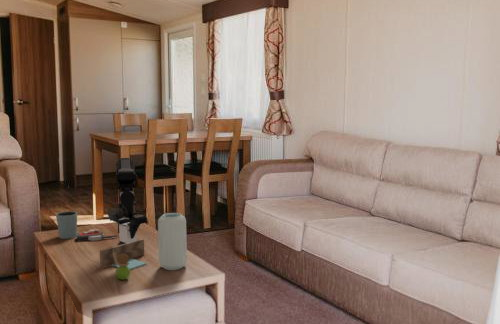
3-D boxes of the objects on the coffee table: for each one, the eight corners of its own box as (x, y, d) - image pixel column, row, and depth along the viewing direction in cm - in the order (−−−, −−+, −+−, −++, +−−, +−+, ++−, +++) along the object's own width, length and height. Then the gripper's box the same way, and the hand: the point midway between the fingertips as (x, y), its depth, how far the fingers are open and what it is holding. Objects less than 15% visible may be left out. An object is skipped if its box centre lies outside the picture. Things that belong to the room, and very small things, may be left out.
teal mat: (131, 259, 220) (131, 258, 220) (146, 264, 213) (146, 263, 213) (112, 265, 212) (112, 264, 212) (127, 270, 206) (127, 269, 206)
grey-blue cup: (74, 239, 250) (73, 215, 248) (53, 239, 250) (52, 215, 248) (81, 233, 260) (80, 211, 258) (61, 233, 260) (60, 210, 258)
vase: (186, 261, 217) (185, 211, 214) (187, 271, 206) (186, 217, 203) (159, 263, 215) (157, 212, 212) (158, 272, 204) (157, 218, 201)
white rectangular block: (129, 238, 215) (128, 222, 214) (136, 240, 211) (136, 224, 211) (119, 240, 211) (119, 224, 210) (127, 243, 208) (126, 226, 207)
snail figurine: (114, 276, 199) (113, 247, 197) (131, 276, 199) (130, 247, 198) (112, 282, 194) (111, 251, 192) (129, 281, 194) (128, 251, 193)
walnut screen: (142, 253, 227) (141, 238, 227) (144, 254, 227) (143, 239, 226) (100, 266, 211) (99, 250, 210) (102, 267, 210) (101, 251, 209)
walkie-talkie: (75, 243, 244) (118, 239, 252) (75, 234, 244) (117, 230, 251) (74, 238, 253) (115, 234, 260) (74, 230, 252) (115, 226, 259)
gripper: (97, 200, 209) (98, 237, 211) (124, 206, 197) (126, 245, 199) (119, 196, 217) (120, 231, 219) (147, 202, 206) (148, 239, 208)
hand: (128, 237), depth 211 cm, fingers closed on white rectangular block, 5 cm apart
